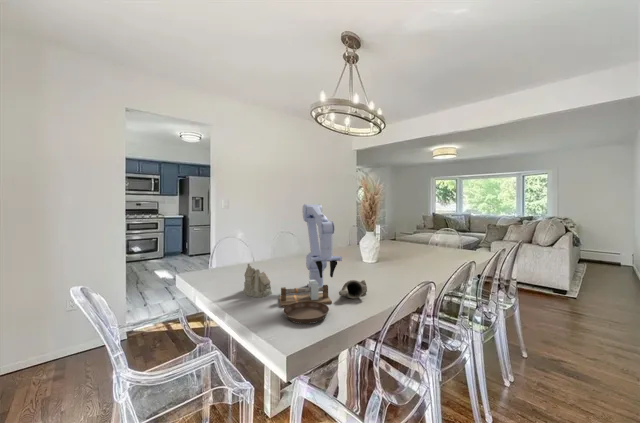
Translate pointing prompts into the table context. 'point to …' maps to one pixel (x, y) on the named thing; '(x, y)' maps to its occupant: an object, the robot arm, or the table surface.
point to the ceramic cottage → (256, 283)
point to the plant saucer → (306, 312)
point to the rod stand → (303, 296)
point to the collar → (313, 289)
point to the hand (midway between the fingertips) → (326, 277)
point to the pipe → (353, 289)
